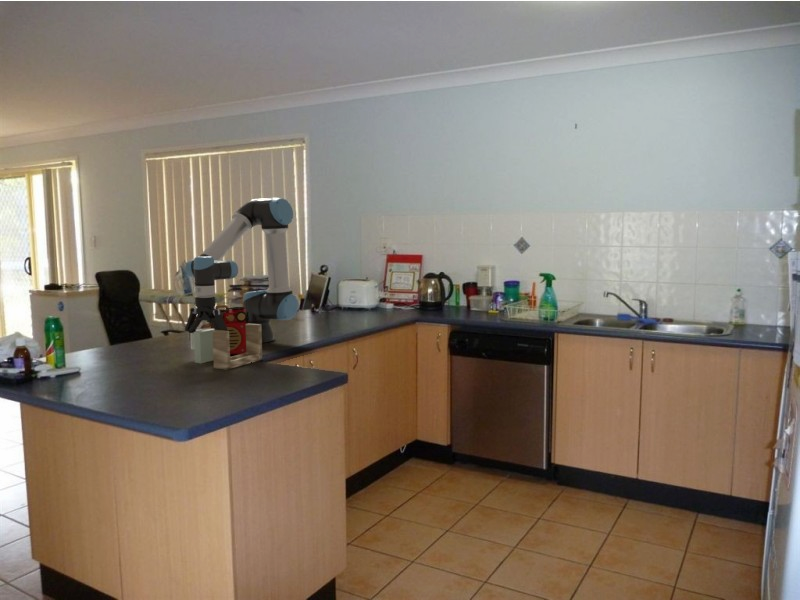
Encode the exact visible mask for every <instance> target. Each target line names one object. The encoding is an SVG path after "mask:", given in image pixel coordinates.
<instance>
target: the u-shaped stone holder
mask: <svg viewBox="0 0 800 600" xmlns="http://www.w3.org/2000/svg"><path fill="white" fill-rule="evenodd" d="M212 332H213V360H212V361H213V369H218V370H227V371H228V370H230V369H234V368H237V367H241V366H243V365H248V364H251V362H252V363H255V362H259V361H261V360H263V343H262V332H261V324H250V323H248V324H246V353H243V354H234V355H233V356H231V354H230V343H229V331H223V330H213V331H212Z"/></svg>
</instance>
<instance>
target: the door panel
mask: <svg viewBox="0 0 800 600" xmlns="http://www.w3.org/2000/svg"><path fill="white" fill-rule="evenodd" d="M213 330H215V329H214V328H212V329H211V328H207V329H202V330H196V332H194V345H195V349H194V363H195V364H203V363H207V362H208V363H209V362H212V361H214V360H213V332H212V331H213Z"/></svg>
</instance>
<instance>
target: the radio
mask: <svg viewBox="0 0 800 600" xmlns="http://www.w3.org/2000/svg"><path fill="white" fill-rule="evenodd" d="M214 309H215V310H218V309H220V310H221V314H222V317H223V320H224V322H225V325H226V327H227V330H228V331H229V343H230V355H239V354H243V353H246V323H247V324H248V323H249V316H248V311H247V312H246V309H245V307H243V306H233V307H229V306H228V305H227V304H217V305H215V306H214ZM246 313H247V314H246ZM212 328H213V326H212V324H211V323H210V329H212Z"/></svg>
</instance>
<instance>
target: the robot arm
mask: <svg viewBox="0 0 800 600" xmlns="http://www.w3.org/2000/svg"><path fill="white" fill-rule="evenodd" d="M231 218H232V219H231V220H230V222H229V223H228V224H227V225H226V226H225V227H224V228H223V229H222V230H221V231H220V233H219V234H217V236H216V237H214V239H213V240H212V242H211V243H210V244H209V245H208V246H207V247H206V248H205V249H204V250H203V252H201V254H200V255H199V256H196V257H194V258H193V259H190V260H188V261H187V262H186V263H185V267H184V268H185V269H184V271H185V273H186V275H187V276H188V277H189V278H192V279H194V281H193V282H194V295H195V298H194V304H195V307H191V308H190V309H189V316H188V319H187V321H186V325H185V326H184V327H185V328H184V330H185V332H188V333H189V334H188V335H189V341H190V350H192V351H193V350H195V345H194V332H196V331H197V329H198V328H199V326H200V325H201V323H202V321H206V322H207V321H208V322H209V323H210V325H211V324H212V326H213V328H214V329H215V330H223V331H228V330H227V327H226V325H225V322H224V320H223V317H222V314H221V310H220V309H221V308H218V310H215V307H216V297H215V295H216V282H215V281H220V280H230V279H235V278H236V277H237V276H238V274H239V266H238V263H237V262H235V260H232V259H231V260H228V259H224V260H222V259H223V258H224V257H225V256H226V255H227V253H228V252H230V251H231V249H232V248H233V247H234V245H236V243H237V242H238V241H239V240H240V239H241V238H242V236H243V235H244V234H245V233H246V232H249V231H251V230H252V229H253V227H255V226H260V225H261V230H262V231H263V233H265V234H264V235H265V248H266V260H267V262H266V263H267V264H266V265H267V275H268V276H267V277H268V288H266V289H262V290H254V291H247V292H245V293H244V294H243V300H242V304H243V305H242V307H245V309H246V312H247V311H248V316H249V323H250V324H261V332H262V344H263V343H269V342H272V341H275V334H274V331H273V327H272V325H271V320H278V321H290V320H292V319H293V318H294V317H295V316H296V314H297V313H298V310H299V305H300V304H299V299H298V297H297V296H296V295H294V294H293V289H292V287H290V285H289V274H288V273H289V272H288V258H287V257H288V256H287V255H288V254H287V242H286V241H287V239H286V238H287V237H286V232H287V231H288V230H289V225H290V224H291V223H292V222H293V220H294V219H293V218H294V210H293V207H292V205H291V203H290V202H289V201H288V200H287V199H285V198H282V197H264V198H262V197H261V198H252V199H251V200H249V201H247V202H245V203H244V204H243V205H242V206H241V207H239V209H237V210H236V211H235V212H234V214H233V215H232V216H231ZM246 314H247V313H246ZM246 324H247V323H246Z"/></svg>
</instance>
